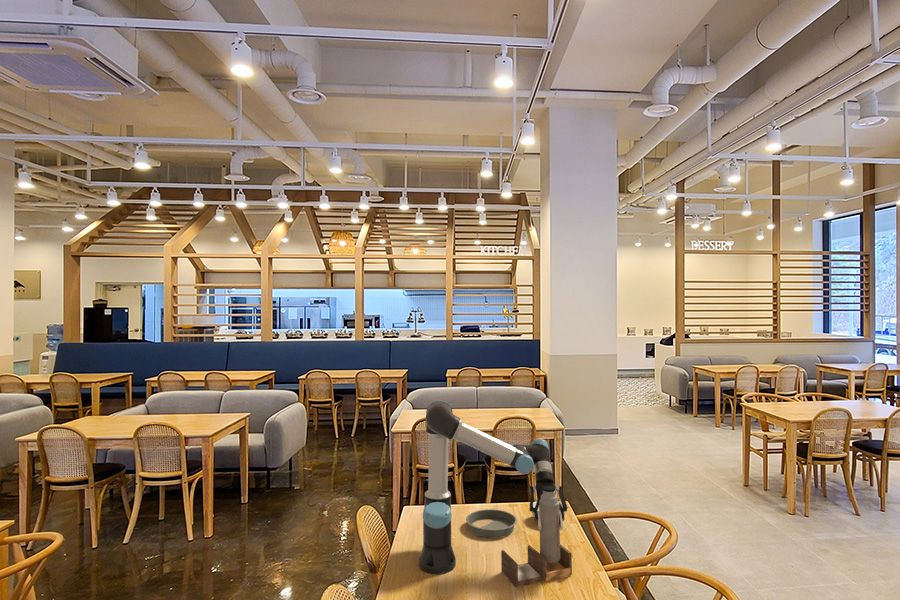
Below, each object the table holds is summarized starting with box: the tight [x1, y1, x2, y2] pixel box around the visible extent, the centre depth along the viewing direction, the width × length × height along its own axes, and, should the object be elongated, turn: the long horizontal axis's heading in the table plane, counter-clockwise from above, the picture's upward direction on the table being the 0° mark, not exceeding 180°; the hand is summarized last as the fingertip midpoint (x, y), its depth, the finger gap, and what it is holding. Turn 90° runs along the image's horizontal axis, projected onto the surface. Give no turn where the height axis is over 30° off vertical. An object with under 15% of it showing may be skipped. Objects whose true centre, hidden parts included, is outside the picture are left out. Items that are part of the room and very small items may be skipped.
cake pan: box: [465, 508, 518, 539], centre depth 240 cm, size 25×25×4 cm
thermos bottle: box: [539, 486, 561, 562], centre depth 200 cm, size 8×8×28 cm
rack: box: [500, 543, 573, 588], centre depth 197 cm, size 25×13×8 cm, turn 111°
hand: (551, 528), depth 196 cm, fingers closed on thermos bottle, 8 cm apart
